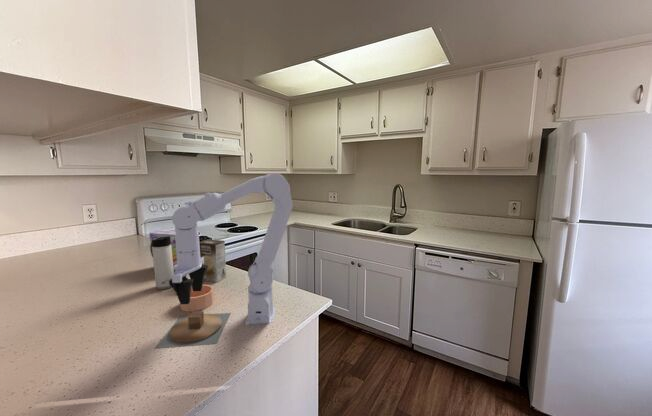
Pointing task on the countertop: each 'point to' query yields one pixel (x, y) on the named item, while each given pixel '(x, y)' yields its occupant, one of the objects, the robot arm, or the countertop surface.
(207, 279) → the coffee box
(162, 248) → the travel mug
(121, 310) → the countertop surface
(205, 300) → the bowl
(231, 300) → the countertop surface
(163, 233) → the cake pan box
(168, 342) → the mat
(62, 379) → the countertop surface
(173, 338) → the lid
